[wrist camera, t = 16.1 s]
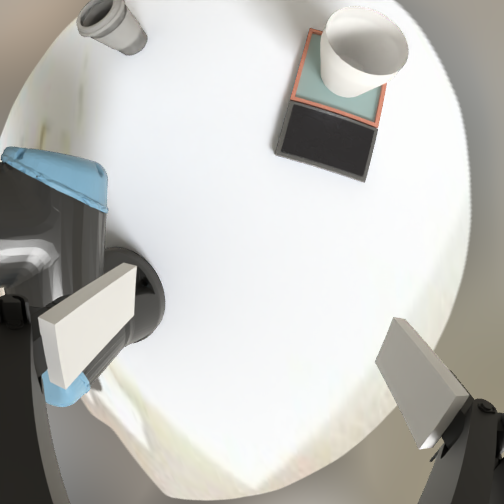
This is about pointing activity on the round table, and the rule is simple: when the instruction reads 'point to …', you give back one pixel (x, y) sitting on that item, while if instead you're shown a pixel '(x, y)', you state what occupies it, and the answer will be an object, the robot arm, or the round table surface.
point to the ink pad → (326, 141)
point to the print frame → (319, 96)
